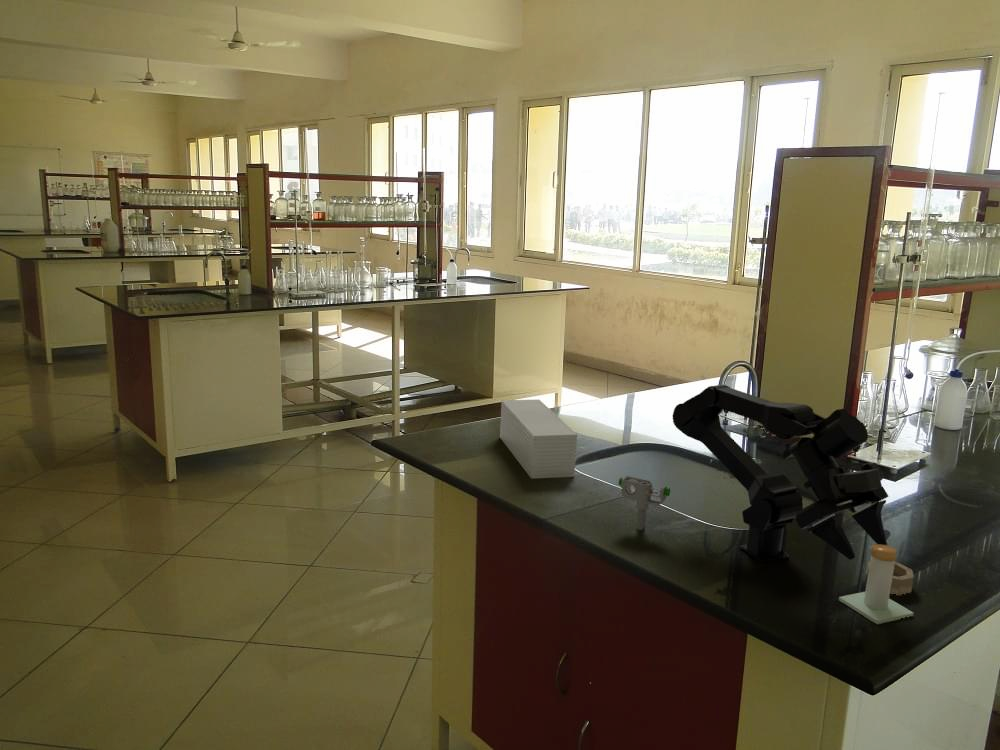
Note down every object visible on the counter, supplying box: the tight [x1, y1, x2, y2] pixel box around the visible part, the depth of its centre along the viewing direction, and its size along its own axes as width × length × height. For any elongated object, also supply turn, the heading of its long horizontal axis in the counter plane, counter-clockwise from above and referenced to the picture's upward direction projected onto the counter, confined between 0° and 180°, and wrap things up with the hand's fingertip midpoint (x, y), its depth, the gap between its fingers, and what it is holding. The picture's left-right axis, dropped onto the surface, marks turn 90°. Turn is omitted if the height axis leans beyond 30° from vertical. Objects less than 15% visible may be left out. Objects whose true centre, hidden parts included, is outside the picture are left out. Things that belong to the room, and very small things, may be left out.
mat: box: [838, 591, 914, 625], centre depth 130 cm, size 8×8×1 cm
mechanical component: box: [618, 475, 671, 531], centre depth 156 cm, size 3×10×10 cm, turn 61°
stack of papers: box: [499, 399, 578, 480], centre depth 198 cm, size 32×11×11 cm, turn 13°
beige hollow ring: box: [863, 560, 915, 596], centre depth 138 cm, size 8×7×3 cm
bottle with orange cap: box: [864, 543, 898, 610], centre depth 129 cm, size 4×4×10 cm
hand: (868, 552), depth 130 cm, fingers open, 9 cm apart
